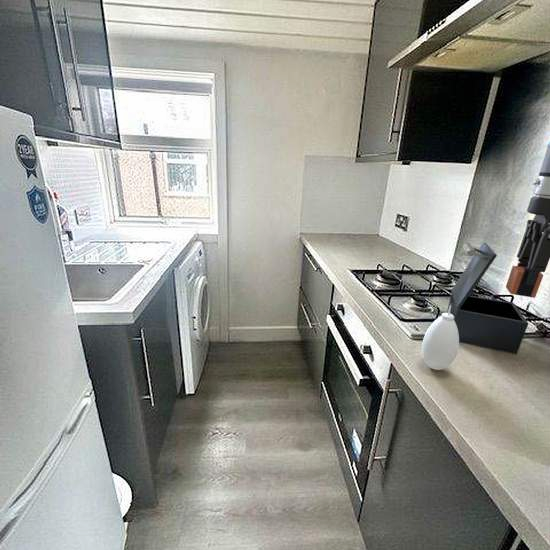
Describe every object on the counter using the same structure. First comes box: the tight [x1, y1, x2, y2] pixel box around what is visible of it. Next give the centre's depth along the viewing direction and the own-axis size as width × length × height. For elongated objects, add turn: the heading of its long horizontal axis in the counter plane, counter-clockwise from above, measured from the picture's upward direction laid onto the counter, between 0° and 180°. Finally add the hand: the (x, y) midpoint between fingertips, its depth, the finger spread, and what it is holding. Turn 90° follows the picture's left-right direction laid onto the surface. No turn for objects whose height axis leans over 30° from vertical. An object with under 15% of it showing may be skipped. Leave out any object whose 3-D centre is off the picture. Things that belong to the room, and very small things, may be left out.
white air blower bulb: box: [421, 305, 460, 371], centre depth 74 cm, size 8×8×18 cm
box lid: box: [451, 241, 498, 309], centre depth 89 cm, size 18×14×6 cm
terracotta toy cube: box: [505, 265, 544, 299], centre depth 75 cm, size 5×5×6 cm
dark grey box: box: [446, 294, 529, 355], centre depth 91 cm, size 17×14×10 cm
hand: (520, 291), depth 76 cm, fingers closed on terracotta toy cube, 5 cm apart
